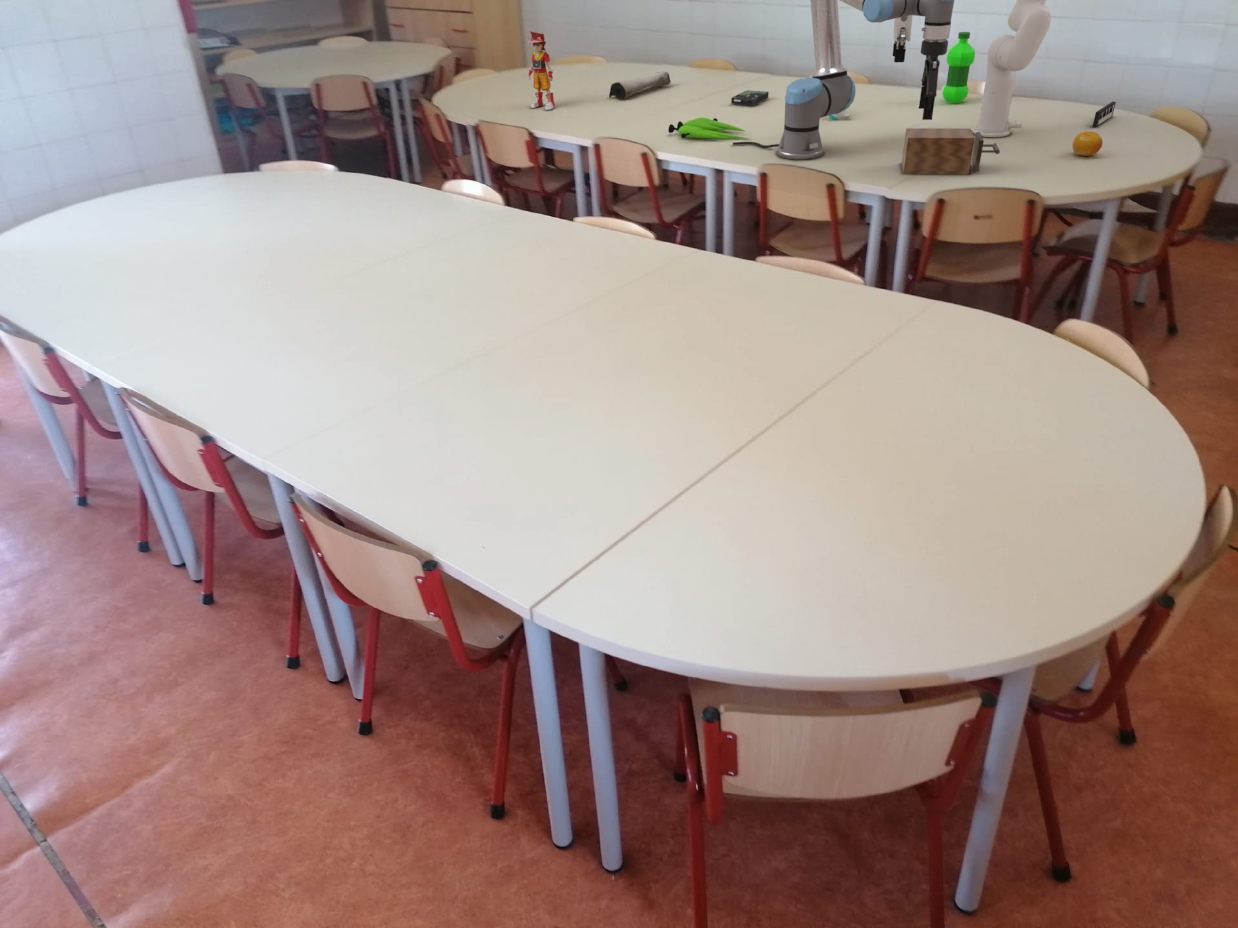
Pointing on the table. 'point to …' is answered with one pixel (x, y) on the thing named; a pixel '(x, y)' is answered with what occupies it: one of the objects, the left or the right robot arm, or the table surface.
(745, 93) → the disk drive
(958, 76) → the plastic bottle
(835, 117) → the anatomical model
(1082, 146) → the fruit
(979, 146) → the drawer
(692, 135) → the toy
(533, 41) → the toy
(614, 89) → the rolled mat
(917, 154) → the cabinet
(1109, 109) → the midi keyboard
